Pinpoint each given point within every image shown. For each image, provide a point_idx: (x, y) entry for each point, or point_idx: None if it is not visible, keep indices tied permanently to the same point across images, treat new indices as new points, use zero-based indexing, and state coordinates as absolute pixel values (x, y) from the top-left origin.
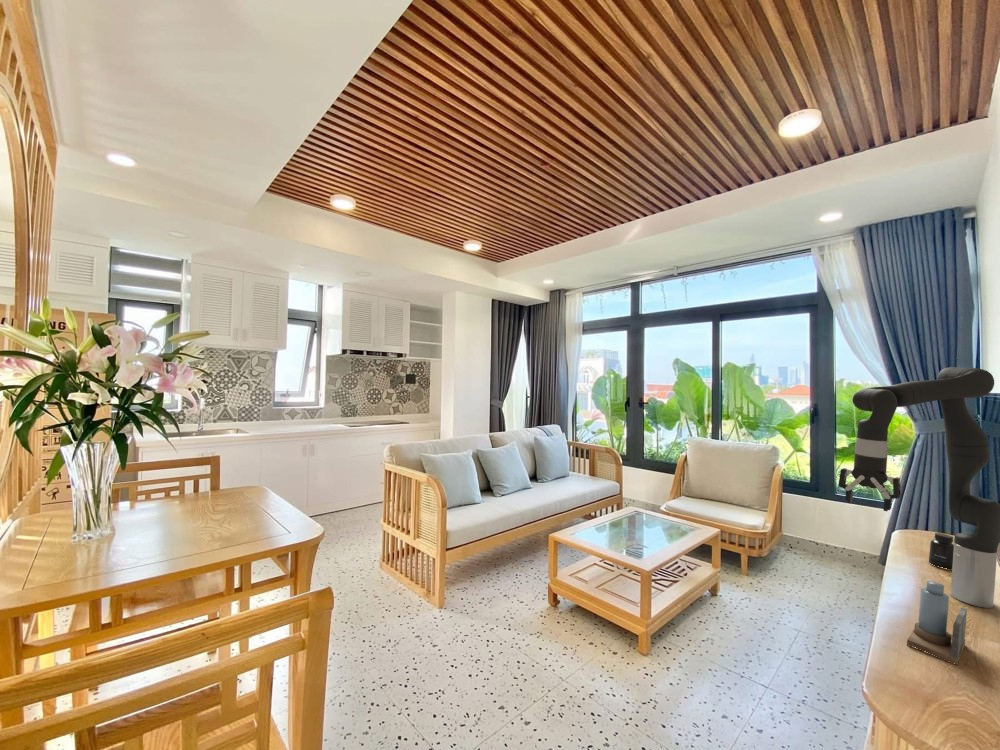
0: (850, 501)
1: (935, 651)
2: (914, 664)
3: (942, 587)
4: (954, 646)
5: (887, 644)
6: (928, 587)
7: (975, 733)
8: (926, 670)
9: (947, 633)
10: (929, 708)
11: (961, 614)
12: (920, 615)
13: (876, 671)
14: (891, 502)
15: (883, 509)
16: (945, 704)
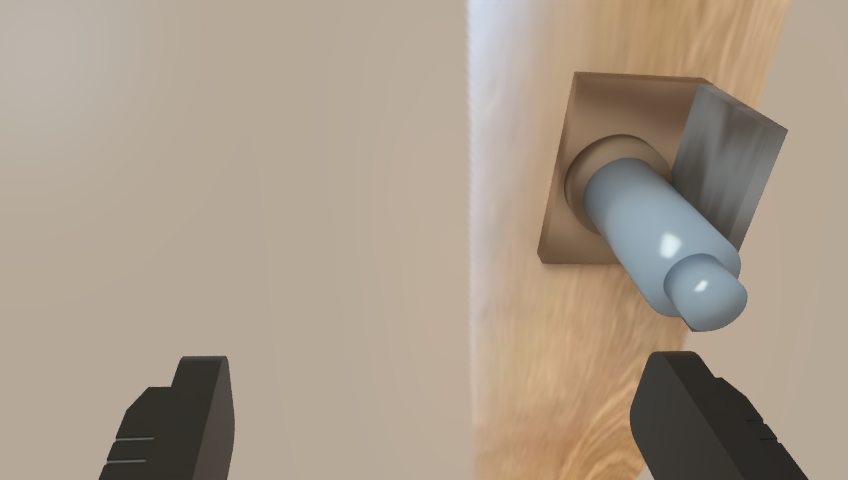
0: (230, 453)
1: (607, 262)
2: (550, 339)
3: (735, 317)
4: None
5: (490, 295)
6: (678, 311)
7: (625, 473)
8: (573, 343)
9: (664, 173)
10: (565, 468)
11: (747, 212)
12: (602, 236)
13: (478, 435)
14: (799, 471)
15: (635, 437)
16: (593, 435)
